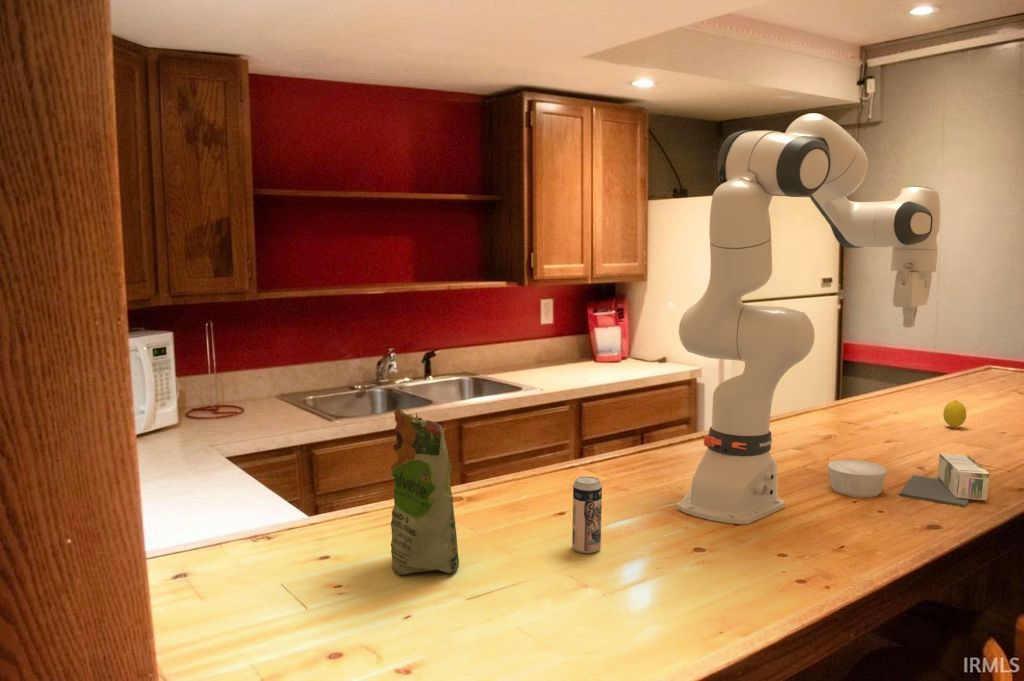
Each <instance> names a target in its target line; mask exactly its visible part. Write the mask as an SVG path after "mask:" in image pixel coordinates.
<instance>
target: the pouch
mask: <svg viewBox="0 0 1024 681" xmlns="http://www.w3.org/2000/svg"><path fill="white" fill-rule="evenodd" d="M393 414H394V421H395V422H396V425H395V427H394V430H395V437H396V443H395V444H393V446H392V447H393V451H394V452H395V453H396V454H397V461H394V462H393V463H391V466H390V468H391V469H390V470H391V473H390V474H391V476H392V477H393V479H394V486H393V487H394V488H393V497H394V500H393V501H394V503H393V507H392V508H393V509H392V510H391V522H390V527H391V529H390V530H391V541H390V542H391V543H390V547H391V550H390V552H391V569H392V571H393V572H394V573H396V574H397V575H398V576H402V575H409V574H412V573H414V574H415V573H428V572H430V573H431V572H442V573H446V574H447V573H448V574H454V573H455V572H456V571H457V570H458V568H459V566H460V559H459V551H458V537H457V528H456V518H455V509H454V502H453V501H454V496H453V494H452V486H451V471H452V470H451V461H450V457H449V451H448V447H447V446H448V445H447V442H446V438H445V432H446V430H444V429H443V426H442V424H440V423H438V422H436V421H434V420H429V419H426V420H425V419H423V418H422V417H419V416H418V413H417V412H416V413H415V417H414V416H413V415H412V414H411V413H410V414H408V413H406V412H404V411H403V410H402V409H401V408H400V407H397V408H395V409H394V411H393Z"/></svg>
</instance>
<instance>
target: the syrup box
mask: <svg viewBox="0 0 1024 681" xmlns="http://www.w3.org/2000/svg"><path fill="white" fill-rule="evenodd" d="M937 468H938V469H937V479H939V480H940V481H941V482H942V483H943V484H944V485H945V486H946V487H947V488H948V489H949V491H950V492H951V493H952V494H953V495H954V496H955V497H956V498H964V499H970V500H979V501H987V499H988V494H989V493H988V491H989V482H990V476H991V475H990V472H988V470H987V469H986V468H984V467H982V465H980V464H979V463H978V462H977V461H976V460H974V459H973V458H972V457H971V456H970V455H968V454H957V453H956V454H955V453H954V454H953V453H942V452H940V453H939V458H938V467H937Z"/></svg>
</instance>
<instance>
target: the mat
mask: <svg viewBox="0 0 1024 681" xmlns="http://www.w3.org/2000/svg"><path fill="white" fill-rule="evenodd" d="M898 496H900V497H905V498H910V499H916V500H923V501H927V502H933V503H938V502H939V503H940V504H944V503H946V504H945V505H950V504H952V505H951V506H955V505H960V506H959V507H961V506H967V507H968V504H969V502H970V500H969V499H964V498H956V497H955V496H954V495H953V494H952V493H951V492H950V491H949V489H948V488H947V487H946V486H945V485H944V484H943V483H942V482H941V481H940V480H939V479H938V478H935V477H929V476H923V475H917V474H912V475H911V477H910V478H909V480H908V481H907V482H906V483H905V484H904V486H903V487H902V489H901V490H900V491H899V494H898ZM939 503H938V504H939Z"/></svg>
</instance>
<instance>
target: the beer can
mask: <svg viewBox="0 0 1024 681" xmlns="http://www.w3.org/2000/svg"><path fill="white" fill-rule="evenodd" d="M572 488H573V490H572V531H571V533H572V534H571V547H572V549H573V550H574V551H576V552H577V553H580V554H586V555H587V554H590V555H591V554H594V553H596V552H598V551H599V550H601V547H602V546H601V545H602V538H601V537H602V508H603V507H602V506H603V504H602V503H603V502H602V501H603V499H602V498H603V486H602V484H601V481H600V479H599V477H594V476H585V475H584V476H579V477H576V478H575V481H574V482H573V483H572Z"/></svg>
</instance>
